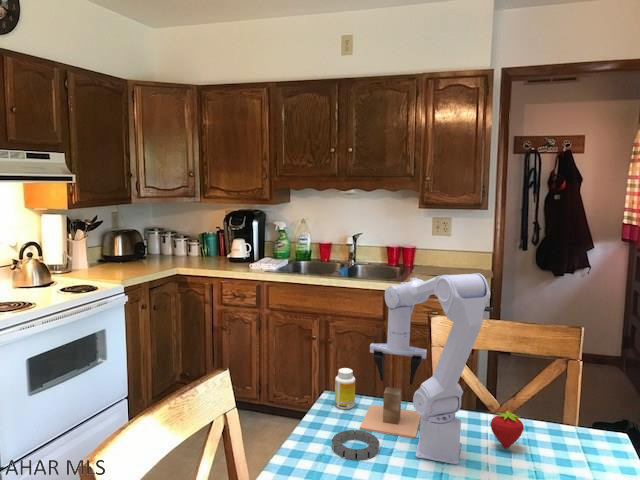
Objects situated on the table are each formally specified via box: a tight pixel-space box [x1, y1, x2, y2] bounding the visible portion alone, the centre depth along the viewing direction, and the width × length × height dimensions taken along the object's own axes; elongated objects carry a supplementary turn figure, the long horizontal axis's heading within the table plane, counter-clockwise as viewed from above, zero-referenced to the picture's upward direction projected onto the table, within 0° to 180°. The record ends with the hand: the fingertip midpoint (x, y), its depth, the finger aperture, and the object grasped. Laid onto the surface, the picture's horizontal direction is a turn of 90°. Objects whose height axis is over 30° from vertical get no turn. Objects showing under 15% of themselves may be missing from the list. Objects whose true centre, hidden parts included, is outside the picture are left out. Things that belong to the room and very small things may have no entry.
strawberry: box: [490, 405, 524, 449], centre depth 122 cm, size 6×8×10 cm
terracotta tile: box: [359, 404, 420, 439], centre depth 134 cm, size 14×14×1 cm
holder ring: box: [331, 429, 381, 461], centre depth 121 cm, size 11×11×2 cm
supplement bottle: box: [334, 367, 356, 410], centre depth 142 cm, size 6×6×10 cm
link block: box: [383, 386, 402, 425], centre depth 133 cm, size 4×4×8 cm
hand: (396, 381), depth 134 cm, fingers open, 7 cm apart
